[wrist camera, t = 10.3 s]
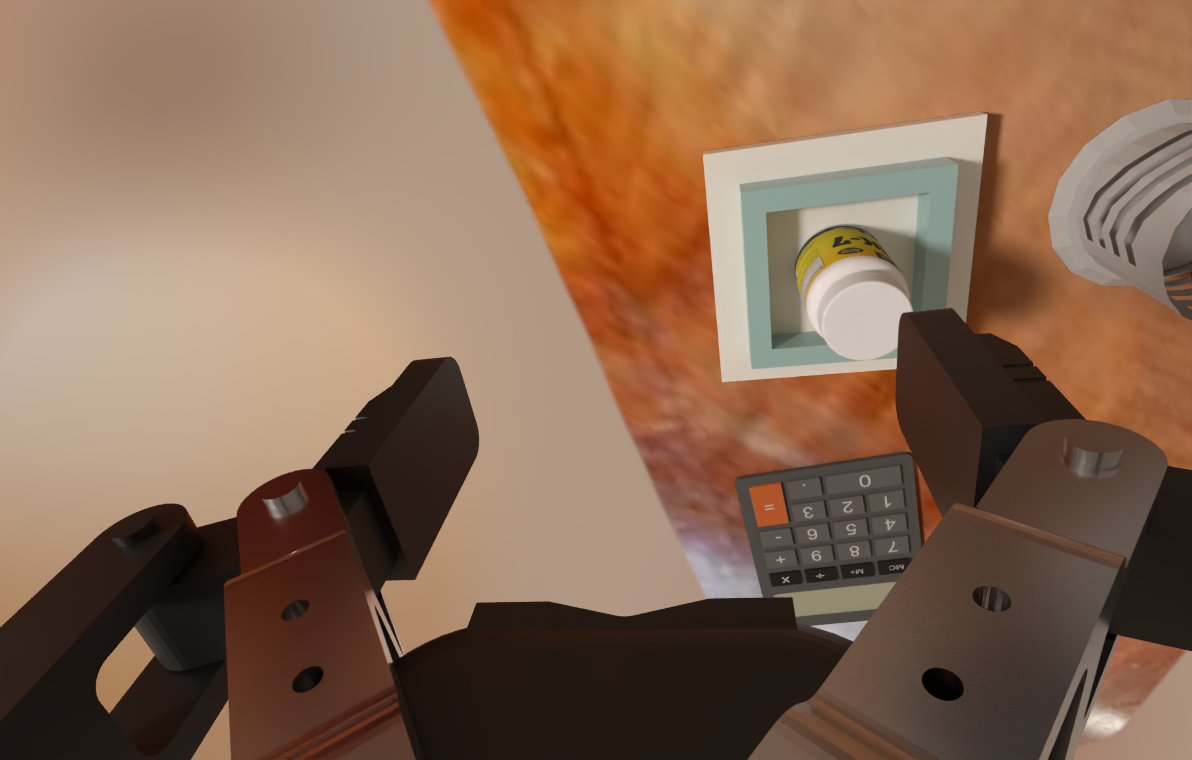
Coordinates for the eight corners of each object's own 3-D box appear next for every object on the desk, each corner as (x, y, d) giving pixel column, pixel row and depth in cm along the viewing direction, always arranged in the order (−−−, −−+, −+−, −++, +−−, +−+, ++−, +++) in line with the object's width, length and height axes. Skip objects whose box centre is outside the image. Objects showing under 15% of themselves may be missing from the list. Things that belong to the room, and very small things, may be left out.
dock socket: (703, 151, 36) (703, 161, 34) (980, 111, 34) (1003, 119, 31) (721, 374, 43) (723, 397, 40) (955, 356, 40) (973, 380, 37)
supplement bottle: (897, 238, 36) (946, 294, 29) (856, 313, 39) (891, 382, 31) (815, 210, 36) (843, 258, 29) (778, 286, 38) (795, 349, 31)
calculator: (913, 455, 43) (928, 616, 50) (909, 447, 44) (925, 607, 50) (734, 482, 46) (771, 631, 52) (733, 473, 47) (769, 622, 53)
